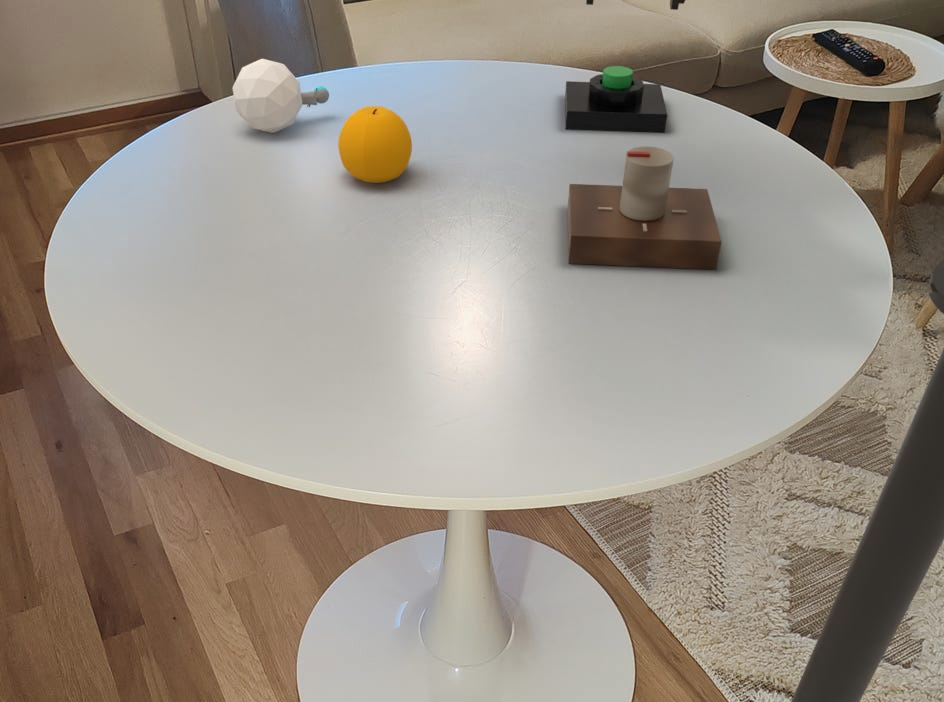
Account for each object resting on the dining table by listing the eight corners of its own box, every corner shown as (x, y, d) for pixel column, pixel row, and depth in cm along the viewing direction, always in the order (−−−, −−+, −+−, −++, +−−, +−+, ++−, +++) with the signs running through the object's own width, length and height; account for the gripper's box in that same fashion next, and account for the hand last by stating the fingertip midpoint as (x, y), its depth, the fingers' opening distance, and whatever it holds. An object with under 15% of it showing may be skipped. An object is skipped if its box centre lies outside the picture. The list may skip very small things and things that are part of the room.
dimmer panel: (702, 216, 96) (707, 187, 94) (715, 269, 88) (722, 239, 86) (567, 210, 96) (569, 182, 94) (568, 263, 88) (571, 233, 86)
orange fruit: (369, 155, 106) (365, 89, 101) (426, 171, 103) (425, 103, 98) (326, 181, 101) (319, 112, 96) (385, 198, 98) (381, 128, 93)
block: (657, 101, 119) (662, 69, 116) (664, 132, 112) (669, 99, 109) (564, 98, 120) (567, 66, 117) (565, 129, 112) (568, 95, 110)
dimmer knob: (661, 200, 92) (671, 143, 88) (667, 221, 88) (677, 163, 84) (617, 199, 92) (624, 142, 88) (621, 220, 88) (629, 162, 85)
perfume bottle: (215, 91, 111) (304, 83, 117) (241, 150, 110) (329, 139, 116) (229, 45, 104) (323, 40, 110) (256, 107, 103) (349, 99, 109)
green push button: (630, 80, 114) (632, 66, 113) (632, 91, 112) (634, 76, 111) (601, 79, 115) (602, 65, 113) (602, 90, 112) (603, 75, 111)
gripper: (577, -187, 81) (560, 12, 92) (742, -180, 80) (705, 20, 91) (579, -199, 86) (562, -9, 97) (733, -192, 85) (699, -2, 96)
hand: (631, 5), depth 94 cm, fingers open, 8 cm apart
